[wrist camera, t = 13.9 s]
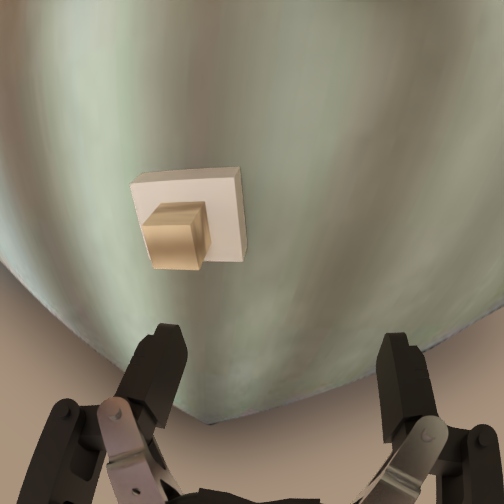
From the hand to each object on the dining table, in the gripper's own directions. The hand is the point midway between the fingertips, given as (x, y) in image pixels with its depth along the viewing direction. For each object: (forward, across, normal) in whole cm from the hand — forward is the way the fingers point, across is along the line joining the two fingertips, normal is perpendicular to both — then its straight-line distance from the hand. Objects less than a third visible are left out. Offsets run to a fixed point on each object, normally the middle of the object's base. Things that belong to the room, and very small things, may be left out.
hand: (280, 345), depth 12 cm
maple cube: (+26, +14, +9) cm, 31 cm away
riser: (+30, +14, +9) cm, 34 cm away
